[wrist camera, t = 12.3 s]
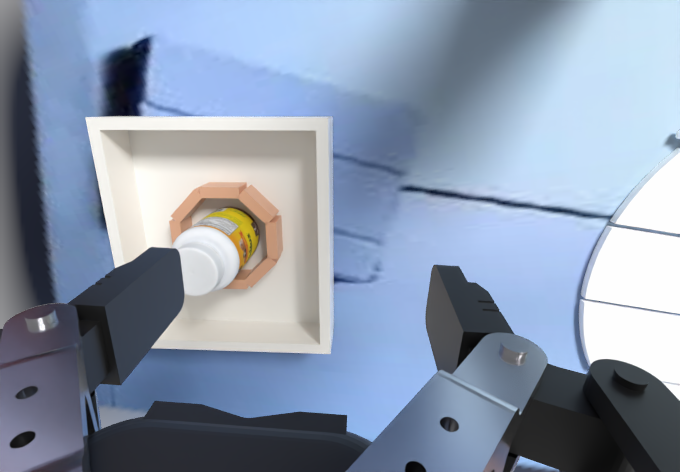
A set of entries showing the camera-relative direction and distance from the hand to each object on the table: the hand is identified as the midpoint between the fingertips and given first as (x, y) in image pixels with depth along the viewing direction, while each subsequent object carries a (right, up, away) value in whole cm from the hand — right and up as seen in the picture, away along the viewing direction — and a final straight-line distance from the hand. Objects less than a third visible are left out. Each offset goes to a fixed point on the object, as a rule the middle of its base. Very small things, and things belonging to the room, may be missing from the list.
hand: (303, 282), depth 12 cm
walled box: (-9, +2, +27) cm, 29 cm away
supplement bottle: (-9, +2, +26) cm, 28 cm away
